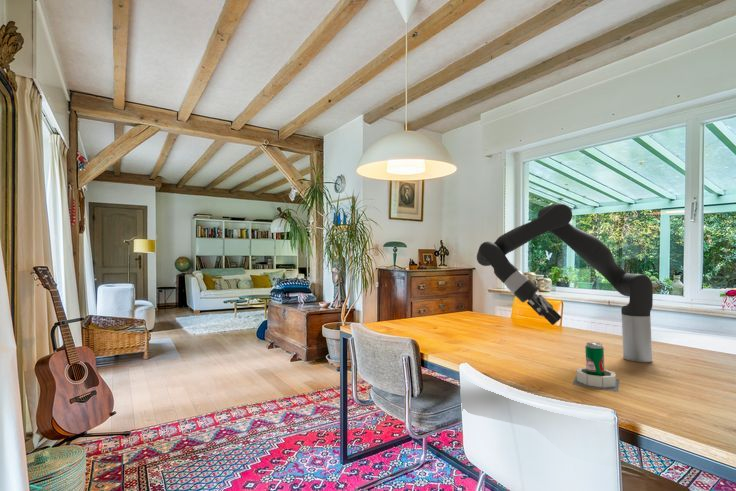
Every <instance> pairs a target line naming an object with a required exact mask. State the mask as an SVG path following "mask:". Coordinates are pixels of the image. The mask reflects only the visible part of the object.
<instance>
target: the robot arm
mask: <svg viewBox="0 0 736 491" xmlns="http://www.w3.org/2000/svg"><path fill="white" fill-rule="evenodd" d="M572 218H573V211H572V209H571V208H570V206H569V205H567V204H565V203H561V202H560V203H559V202H558V203H557V202H556V203H553V204H550V205H546V206H544V207H541V209H540V210H539V211H538V212H537V218H535V219H533V220H531V221H529V222H527V223H524V224H522V225H519V226H517V227H515V228H512V229H511V230H509V231H507V232H505V233H503V234H501V235H500V236H499V237H497V239H496V240H495V241H494V242H492V241H484V242H483V243H481V244H480V245H479V246H478V247H479V248H478V251H477V254H476V261H477V262H478V264H480V265H481V266H483V267H489V266H491V267H492V269H493V273H494V275H495V276H496V278H498V279H499V281H501V282H502V283H503V285H505V286H506V288H507V289H508V290H509V292H511V294H513V295H514V296H515V297H516V298H517V299H518V300H519V301H520V302H521V303H526V304H527V305H528V306H530V307H531V308H532V310H534V312H535V313H536V314H538V316H539V317H542V318H545V319H546V320H547V321H548V322H549V324H551V325H552V326H554V325H555V324H556V323H557V322H559V321H560V320H561V319H562V316H561V315H560V314H559V313H558V312H557V311H556V310H555V309H554V306H553V304H551V303H550V302H549V301H548V300H547V299H546V298H545V297H543V296H542V294H539V295H538V294H537V293H538V291H539V287H538V286H537V285H536V284H535V283H534V282H533V281H532V280H531V279H530V278H528V276H527V275H525V274H524V273H523V272H522V271H520V270H519V269H518V268H517V267H516V266H515V265H513V263H511V261H510V260H508V259H509V258H508V257H507V256H506V255H508V254H509V253H511V252H513V251H515V250H517V249H519V248H520V247H521V246H524V245H525V244H527V243H529V242H530V241H532V240H535V239H536V238H538V237H539V236H541V235H544V234H546V233H549V232H550V233H551V234H553V235H554V236H556V237H557V238H558V239H560V240H561V241H562V242H564V243H565V244H566V245H567V247H569V249H571V250H572V251H573V252H574V253H576V254H577V255H578V256H579V257H580V258H581V259H582V260H583V261H585V262H586V263H587V264H588V265H589V266H591V267H592V268H593V269H594V270H595V271H596V272H598V273H599V274H600V275H601V276H602V277H603V278H604V279H606V281H607V282H608V283H609V284H611V286H612V287H613V288H614V289H615V290H616V291H617V293H619V294H621V295H622V296H624V297H629V299H628V300H629V301H628V303H627V304H626V305H623V306H622V307H621V314H620V315H621V331H622V333H621V335H622V358H623V360H624V359H625V360H627V361H632V362H639V363H650V362H653V351H652V350H653V348H652V346H653V345H652V326H651V325H652V324H651V320H652V319H651V311H652V309H653V302H654V301H653V295H654V291H653V289H654V286H653V283H652V280H651V278H650V276H647V275H646V274H643V273H629V272H628V271H626V270H625V269H623V268H622V267H621V266H619V265H618V263H617V262H616V261H615V259H614V256H613V253H612V251H611V249H610V248H609V247H608V246H607V245H606V244H605V243H603V241H601V240H600V239H599V238H598V237H596V236H595V235H593V234H591V233H588V232H586V231H584V230H582V229H580V228H577V227H576V226H574V225H572V224H571V223H570V222H571V220H572Z"/></svg>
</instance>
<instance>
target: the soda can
mask: <svg viewBox="0 0 736 491" xmlns="http://www.w3.org/2000/svg"><path fill="white" fill-rule="evenodd" d="M584 349H585V350H584V351H585V352H584V353H585V368H586V374H589V375H595V376H605V354H604V353H605V350H604V349H605V348H604V346H603V344H602V343H600V342H593V341H590V342H586V343H585V347H584Z"/></svg>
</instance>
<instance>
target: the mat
mask: <svg viewBox="0 0 736 491" xmlns="http://www.w3.org/2000/svg"><path fill="white" fill-rule="evenodd" d="M575 375H576V376H575V377H574V380H573V382H572V385H573V386H578V387H585V388H591V389H598V390H604V391H610V392H616V393H618V392H619V388H620V378H616V386H615V387H605V388H604V387H596V386H590V385H586V384H583V383H581V382H579V381H577V374H575Z"/></svg>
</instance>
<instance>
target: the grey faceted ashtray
mask: <svg viewBox="0 0 736 491" xmlns="http://www.w3.org/2000/svg"><path fill="white" fill-rule="evenodd" d="M604 370H605V376H595V375H589V374H586V367H579V368H577V370H576V375H577V381H579V382H581V383H583V384H586V385H590V386H596V387H604V388H605V387H615V386H616V379H617V376H616V372H615V371H610V370H608V369H606V368H604Z"/></svg>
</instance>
